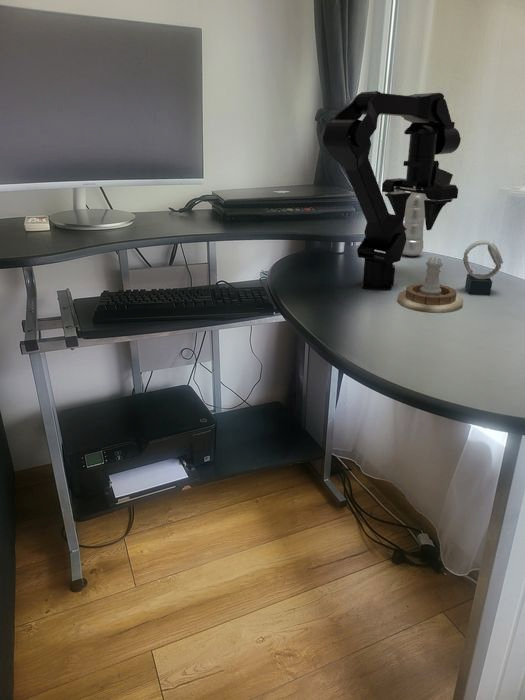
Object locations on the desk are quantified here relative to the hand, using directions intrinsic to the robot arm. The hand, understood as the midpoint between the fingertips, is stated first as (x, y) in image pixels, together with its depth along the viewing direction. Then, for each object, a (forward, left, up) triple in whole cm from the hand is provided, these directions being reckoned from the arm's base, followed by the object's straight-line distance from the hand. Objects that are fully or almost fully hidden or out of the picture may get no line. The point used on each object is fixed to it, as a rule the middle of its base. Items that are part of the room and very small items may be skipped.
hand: (414, 226), depth 120 cm
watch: (+14, -9, -12) cm, 21 cm away
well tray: (+3, -19, -12) cm, 23 cm away
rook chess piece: (+3, -19, -11) cm, 22 cm away
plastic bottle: (+1, +23, -12) cm, 26 cm away
